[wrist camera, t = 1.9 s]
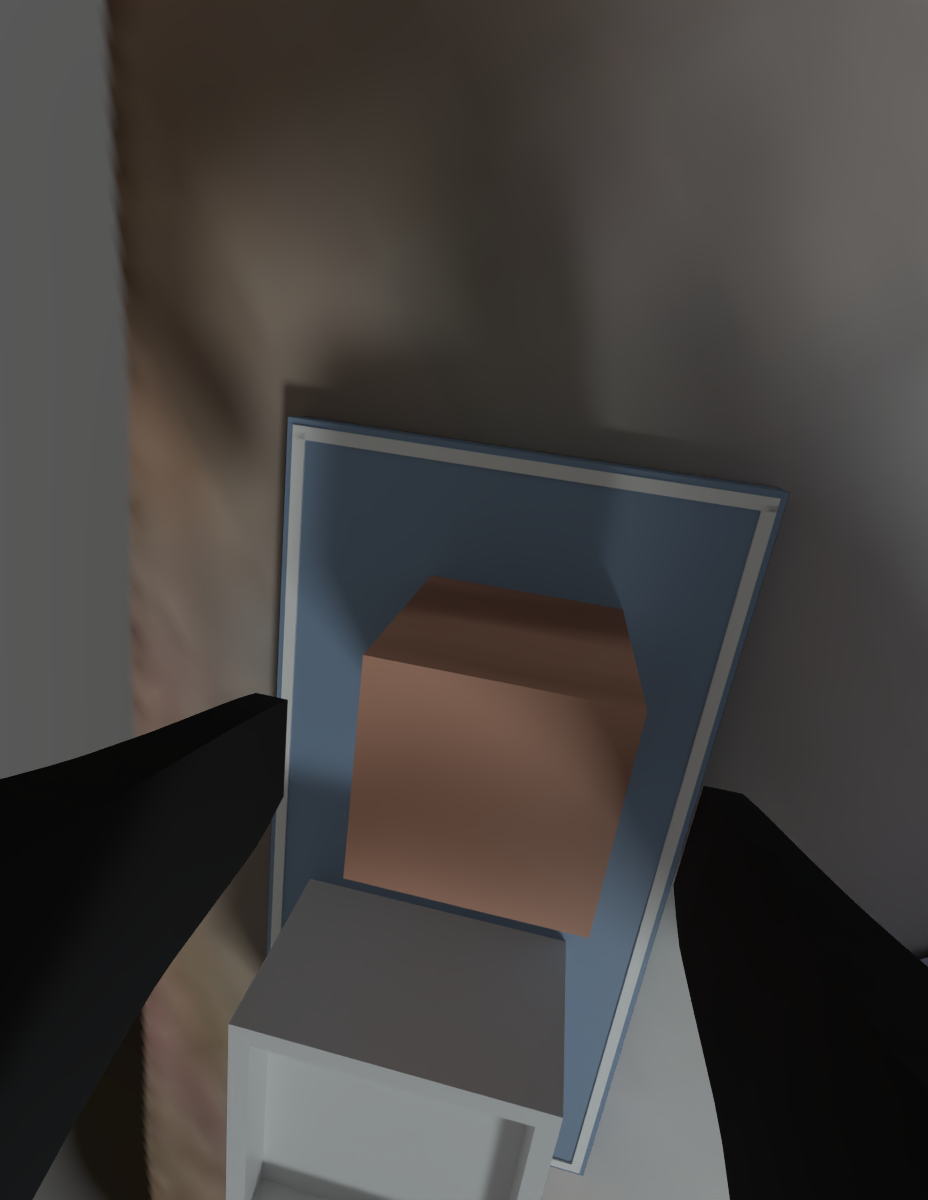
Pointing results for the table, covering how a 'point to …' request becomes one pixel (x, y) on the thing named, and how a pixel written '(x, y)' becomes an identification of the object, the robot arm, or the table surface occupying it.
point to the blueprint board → (535, 565)
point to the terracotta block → (495, 752)
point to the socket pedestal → (396, 1057)
